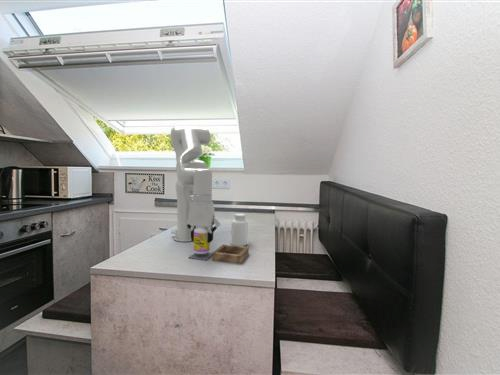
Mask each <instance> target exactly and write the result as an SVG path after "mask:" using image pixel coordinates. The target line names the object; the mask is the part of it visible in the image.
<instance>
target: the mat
mask: <svg viewBox="0 0 500 375" xmlns="http://www.w3.org/2000/svg"><path fill="white" fill-rule="evenodd" d="M212 253H213V252H210V251H209V252H208V253H205V254H197V253H195V252H193V254H191V255H189V256H188V259H190V260H191V259H192V260H199V261H208V260H210V259H211V258H212Z"/></svg>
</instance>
